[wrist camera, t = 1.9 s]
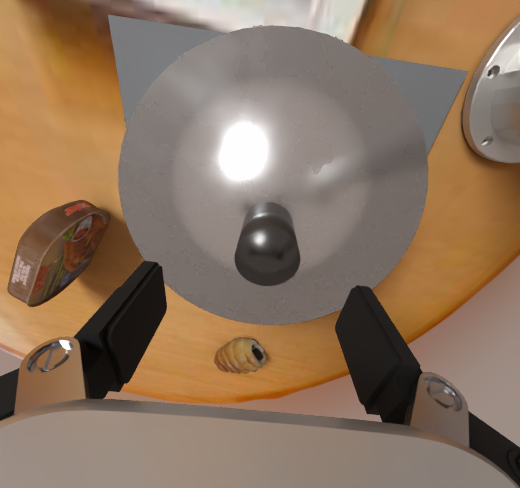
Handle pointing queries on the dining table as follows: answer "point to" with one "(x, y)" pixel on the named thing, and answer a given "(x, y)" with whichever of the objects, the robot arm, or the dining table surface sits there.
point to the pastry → (240, 356)
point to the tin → (55, 251)
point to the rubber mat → (184, 38)
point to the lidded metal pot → (273, 174)
